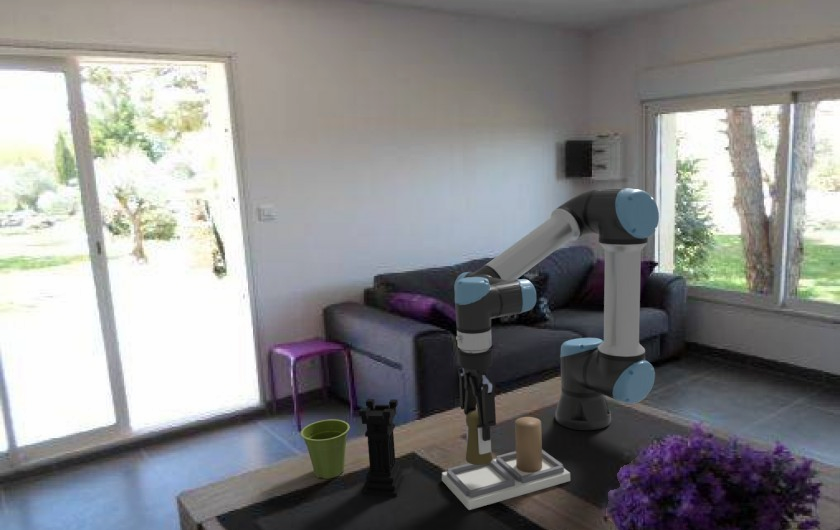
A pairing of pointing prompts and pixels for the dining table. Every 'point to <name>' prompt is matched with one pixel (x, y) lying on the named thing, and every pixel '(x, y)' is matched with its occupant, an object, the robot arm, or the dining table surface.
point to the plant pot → (326, 446)
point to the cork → (475, 442)
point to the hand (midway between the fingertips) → (478, 447)
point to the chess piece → (381, 449)
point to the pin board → (508, 471)
